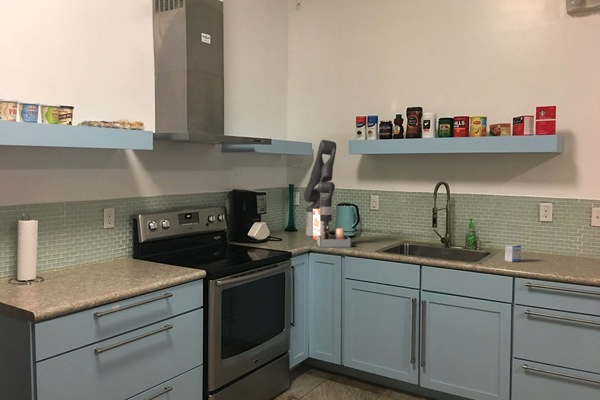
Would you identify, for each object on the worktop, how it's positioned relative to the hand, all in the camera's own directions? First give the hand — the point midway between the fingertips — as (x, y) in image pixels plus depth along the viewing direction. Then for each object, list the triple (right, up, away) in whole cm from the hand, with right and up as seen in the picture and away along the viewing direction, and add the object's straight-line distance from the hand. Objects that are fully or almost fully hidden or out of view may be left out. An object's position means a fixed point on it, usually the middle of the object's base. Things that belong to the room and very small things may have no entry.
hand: (325, 240), depth 318 cm
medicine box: (+99, -8, -46) cm, 109 cm away
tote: (+5, -3, +1) cm, 6 cm away
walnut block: (0, 0, 0) cm, 0 cm away
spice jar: (+9, -3, +1) cm, 9 cm away
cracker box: (-3, -2, +20) cm, 20 cm away
